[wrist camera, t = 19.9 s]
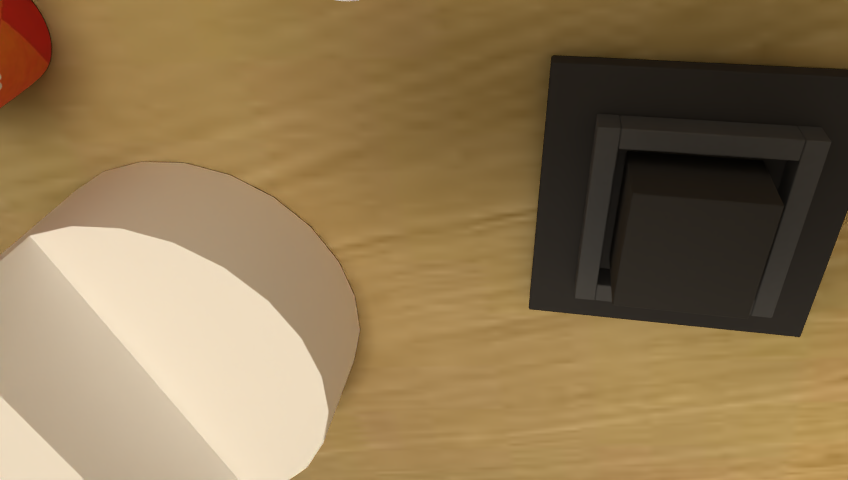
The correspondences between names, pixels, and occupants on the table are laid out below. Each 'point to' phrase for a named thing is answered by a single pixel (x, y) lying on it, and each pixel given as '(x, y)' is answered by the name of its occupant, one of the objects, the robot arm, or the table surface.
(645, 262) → the black block
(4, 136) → the table surface
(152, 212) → the container
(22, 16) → the coffee cup
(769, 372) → the table surface
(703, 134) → the base pad
